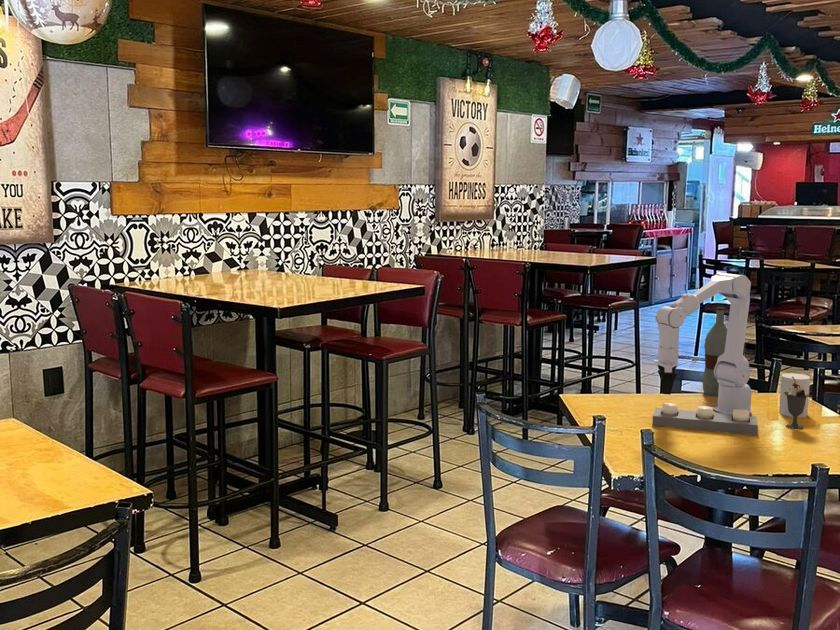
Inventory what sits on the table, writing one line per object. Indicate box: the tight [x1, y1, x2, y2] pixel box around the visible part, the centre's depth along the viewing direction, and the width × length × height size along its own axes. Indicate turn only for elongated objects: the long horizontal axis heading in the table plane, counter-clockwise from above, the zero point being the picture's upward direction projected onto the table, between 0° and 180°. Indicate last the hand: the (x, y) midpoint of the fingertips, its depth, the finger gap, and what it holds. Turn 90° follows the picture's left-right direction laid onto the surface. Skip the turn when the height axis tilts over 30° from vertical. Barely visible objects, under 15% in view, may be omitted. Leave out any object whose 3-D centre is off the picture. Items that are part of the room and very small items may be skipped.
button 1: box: [661, 402, 679, 416], centre depth 250 cm, size 4×4×3 cm
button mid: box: [696, 405, 714, 419], centre depth 247 cm, size 4×4×3 cm
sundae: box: [784, 377, 810, 430], centre depth 245 cm, size 7×7×15 cm
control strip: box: [652, 407, 759, 436], centre depth 247 cm, size 10×29×3 cm, turn 70°
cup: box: [778, 372, 811, 418], centre depth 260 cm, size 8×8×12 cm
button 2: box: [733, 409, 750, 422], centre depth 243 cm, size 4×4×3 cm
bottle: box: [702, 306, 730, 397], centre depth 284 cm, size 9×9×30 cm
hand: (666, 391), depth 251 cm, fingers open, 7 cm apart
